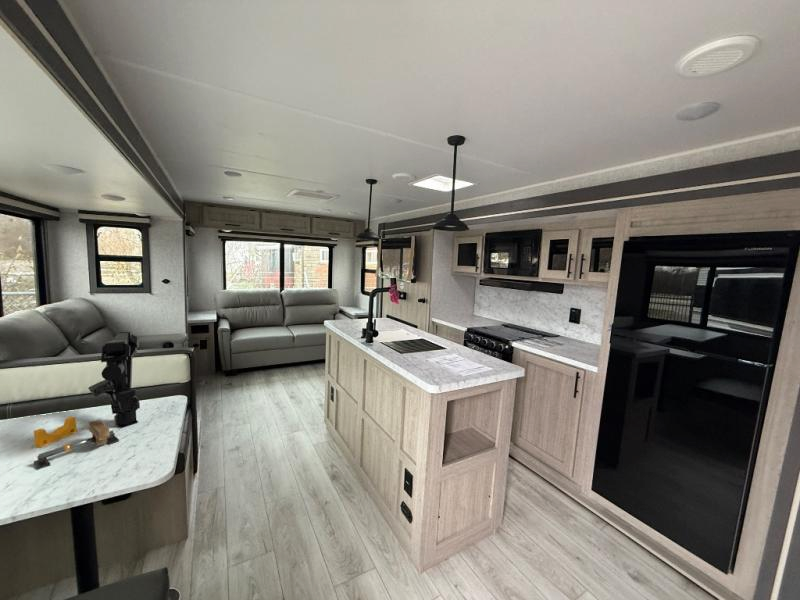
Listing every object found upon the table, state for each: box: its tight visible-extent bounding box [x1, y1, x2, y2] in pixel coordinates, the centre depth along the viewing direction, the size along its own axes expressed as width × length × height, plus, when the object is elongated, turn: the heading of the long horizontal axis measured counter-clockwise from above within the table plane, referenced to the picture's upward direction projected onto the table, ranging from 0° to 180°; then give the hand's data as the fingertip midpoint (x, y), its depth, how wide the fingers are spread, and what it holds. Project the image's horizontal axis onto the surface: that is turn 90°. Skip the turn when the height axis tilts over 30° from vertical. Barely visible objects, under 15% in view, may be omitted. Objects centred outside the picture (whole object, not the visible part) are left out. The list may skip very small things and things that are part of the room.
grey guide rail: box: [33, 430, 120, 470], centre depth 121 cm, size 22×6×4 cm, turn 147°
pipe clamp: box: [33, 416, 78, 449], centre depth 129 cm, size 12×4×6 cm, turn 170°
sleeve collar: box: [88, 419, 110, 447], centre depth 126 cm, size 3×12×7 cm, turn 57°
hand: (119, 409), depth 130 cm, fingers open, 8 cm apart
